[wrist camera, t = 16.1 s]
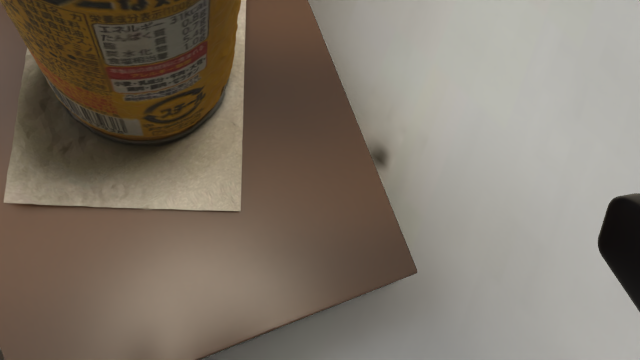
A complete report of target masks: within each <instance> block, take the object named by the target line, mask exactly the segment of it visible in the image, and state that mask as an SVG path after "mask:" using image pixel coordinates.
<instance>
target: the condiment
mask: <svg viewBox="0 0 640 360" xmlns="http://www.w3.org/2000/svg"><path fill="white" fill-rule="evenodd" d="M0 2H1V3H2V5H3V7H4V8H5V10H6V12H7V14H8V16H9V18H10V19H11V20H12V22H13V24H14V25H15V27H16V29H17V30H18V32H19V34H20V36H21V38H22V39H23V41H24V43H25V45H26V47H27V52H26V55H25V66H24V71H23V76H22V81H21V82H22V85H21V89H20V93H19V98H18V109H17V117H16V122H15V130H14V138H13V144H12V152H11V157H10V162H9V167H8V172H7V181H6V188H5V195H4V203H20V204H37V205H60V206H88V207H112V208H141V209H181V210H214V211H241V178H242V137H243V100H244V61H245V25H246V0H0Z"/></svg>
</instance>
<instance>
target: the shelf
mask: <svg viewBox="0 0 640 360" xmlns="http://www.w3.org/2000/svg"><path fill="white" fill-rule="evenodd" d="M26 52H27V47H26V45H25V43H24V41H23V39H22V38H21V36H20V34H19V32H18V30H17V29H16V27H15V25H14V24H13V22H12V20H11V19H10V18H9V16H8V14H7V12H6V10H5V8H4V7H3V5H2V3H1V2H0V348H1V351H2V353H3V356H4V360H200V359H202V358H205V357H207V356H210V355H212V354H215V353H217V352H220V351H222V350H225V349H227V348H230V347H232V346H235V345H237V344H240V343H242V342H245V341H247V340H250V339H252V338H255V337H257V336H260V335H262V334H265V333H267V332H270V331H272V330H275V329H278V328H280V327H283V326H285V325H288V324H290V323H293V322H295V321H298V320H300V319H303V318H305V317H308V316H310V315H313V314H315V313H318V312H320V311H323V310H325V309H328V308H330V307H333V306H335V305H338V304H340V303H343V302H345V301H348V300H350V299H353V298H355V297H358V296H361V295H363V294H366V293H368V292H371V291H373V290H376V289H378V288H381V287H383V286H386V285H388V284H391V283H393V282H396V281H398V280H401V279H403V278H406V277H408V276H411V275H413V274H416V273H417V269H416V266H415V264H414V261H413V259H412V257H411V254H410V252H409V249H408V247H407V244H406V242H405V239H404V237H403V234H402V232H401V229H400V227H399V224H398V222H397V219H396V217H395V215H394V212H393V210H392V207H391V205H390V202H389V200H388V197H387V195H386V192H385V190H384V187H383V185H382V182H381V180H380V177H379V175H378V172H377V170H376V168H375V165H374V163H373V160H372V158H371V155H370V153H369V150H368V148H367V145H366V143H365V140H364V138H363V135H362V133H361V130H360V128H359V126H358V123H357V121H356V118H355V116H354V113H353V111H352V108H351V106H350V103H349V101H348V98H347V96H346V93H345V91H344V88H343V86H342V84H341V81H340V79H339V76H338V74H337V71H336V69H335V66H334V64H333V61H332V59H331V56H330V54H329V51H328V49H327V46H326V44H325V42H324V39H323V37H322V34H321V32H320V29H319V27H318V24H317V22H316V19H315V17H314V14H313V12H312V9H311V7H310V4H309V2H308V0H246V25H245V61H244V100H243V137H242V178H241V211H214V210H181V209H141V208H112V207H88V206H60V205H37V204H20V203H4V195H5V188H6V181H7V172H8V167H9V162H10V157H11V152H12V144H13V138H14V130H15V122H16V117H17V109H18V98H19V93H20V89H21V85H22V82H21V81H22V76H23V71H24V66H25V55H26Z"/></svg>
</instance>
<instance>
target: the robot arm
mask: <svg viewBox="0 0 640 360" xmlns="http://www.w3.org/2000/svg"><path fill="white" fill-rule="evenodd" d="M598 248H599V251H600V253H601V255H602V257H603V258H604V260H605V261H606V263H607V264H608V266H609V267H610V269H611V270H612V272H613V273H614V275H615V276H616V278H617V279H618V281H619V282H620V283H621V285H622V286H623V288H624V289H625V291H626V292H627V294H628V295H629V297H630V298H631V300H632V301H633V303H634V304H635V306H636V307H637V309H638V310H639V312H640V194H629V195H624V196H618V197H616V198H614V199H612V201H611V202H610V203H609V205H608V208H607V211H606V214H605V218H604V221H603V224H602V227H601V230H600V234H599V237H598ZM0 360H4V356H3V353H2V351H1V348H0Z"/></svg>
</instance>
